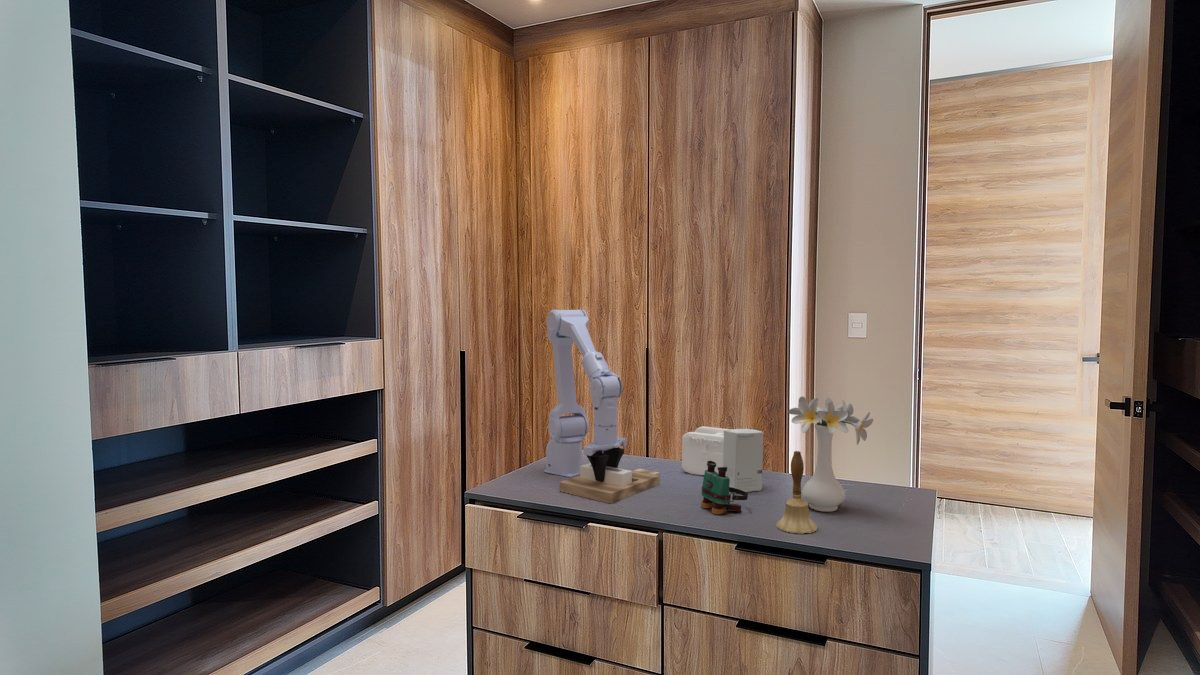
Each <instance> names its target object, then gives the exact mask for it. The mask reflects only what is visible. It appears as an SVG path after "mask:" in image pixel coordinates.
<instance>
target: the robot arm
mask: <svg viewBox="0 0 1200 675" xmlns="http://www.w3.org/2000/svg"><path fill="white" fill-rule="evenodd" d="M545 322H546V330H547V331H546V332H547V339H548V342H550V343H552V344H551V345H552V354H553V355H552V357H553V366H554V375H555V376H554V377H555V389H556V397H557V398H556V399H557V404H556V405H555V407H554V408H552V409H551V411H550V412H549V413H548V424H547V429H548V434H549V436H550V438H551V439H549V441H548V442H547V444H546V448H545V449H546V450H545V454H546V455H545V465H546V466H545V467H546V468H545V469H544V473H547V474H553V475H557V476H561V477H567V478H573V477H577V476H580V466H582V465H583V455H584V456H586V457H587V459H588V461H589V463H591V465H592V468H593V471H594V475H595V479H596V481H599V482H604V478H605V468H606V466H608V467H613V468H619V465H620V462H621V459H622V457H623V456H624V454H625V448H620V447H627V438H626V437H621V436H620V437H618V399H619V398H620V397H621V396H622V392H623V382H622V380H621V377H620V376H619V375H617V374H616V373H614V372H613V371H611V369H610V367H609V365H608V363H607V361H606V360H605V359H606V358H605V357H604V355H603V354H602V353H601V352H600V351H597V350H596V348H595V346H594V342H593V340H592V338H591V335H590V333H589V330H588V329H589V325H590V319H589V317H588V313H587V312H586V310H584V309H582V308H579V309H551V310H550V311H549V313H548V315H547V317H546V321H545ZM573 343H574V344H575V346H576V347H577V349H578V351H579V353H580V354H581V355H582V359H581V365H582V368H583V369H584V371H585V374H586V376H587V378H588V381H589V382H590V386H589V393H590V397H591V404H592V407H593V420H594V421H593V442H591V443H590V444H587V445H585V446H583V441H585V438H586V436H587V435H588V433H589V429H590V425H589V423H590V422H589V421H588V418H587V412H586V409H585V408H583V406H581V405H580V404H578V403H577V402H578V401H577V393H576V392H577V391H576V385H575V375H574V374H575V372H574V371H575V370H574V362H573V360H574V359H573V350H572V346H573ZM582 454H583V455H582Z"/></svg>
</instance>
